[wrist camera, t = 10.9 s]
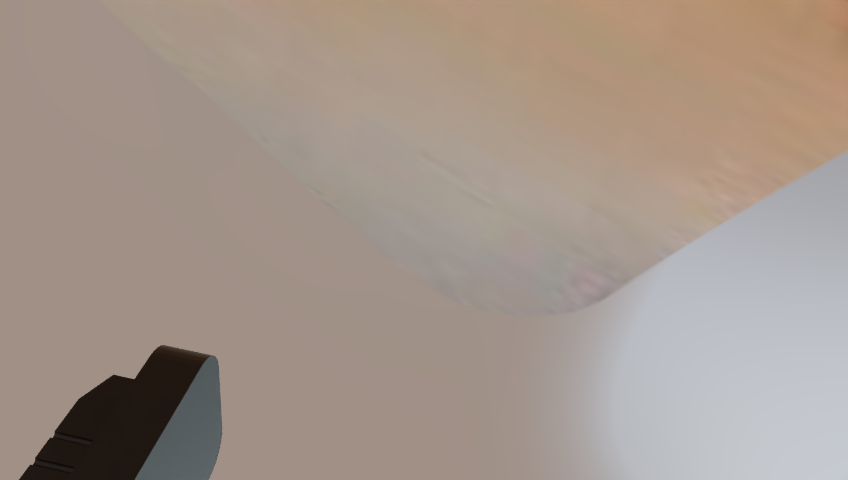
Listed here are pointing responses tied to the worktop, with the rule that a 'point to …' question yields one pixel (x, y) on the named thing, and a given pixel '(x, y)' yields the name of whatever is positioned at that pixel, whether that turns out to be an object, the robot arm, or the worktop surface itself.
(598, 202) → the worktop surface
